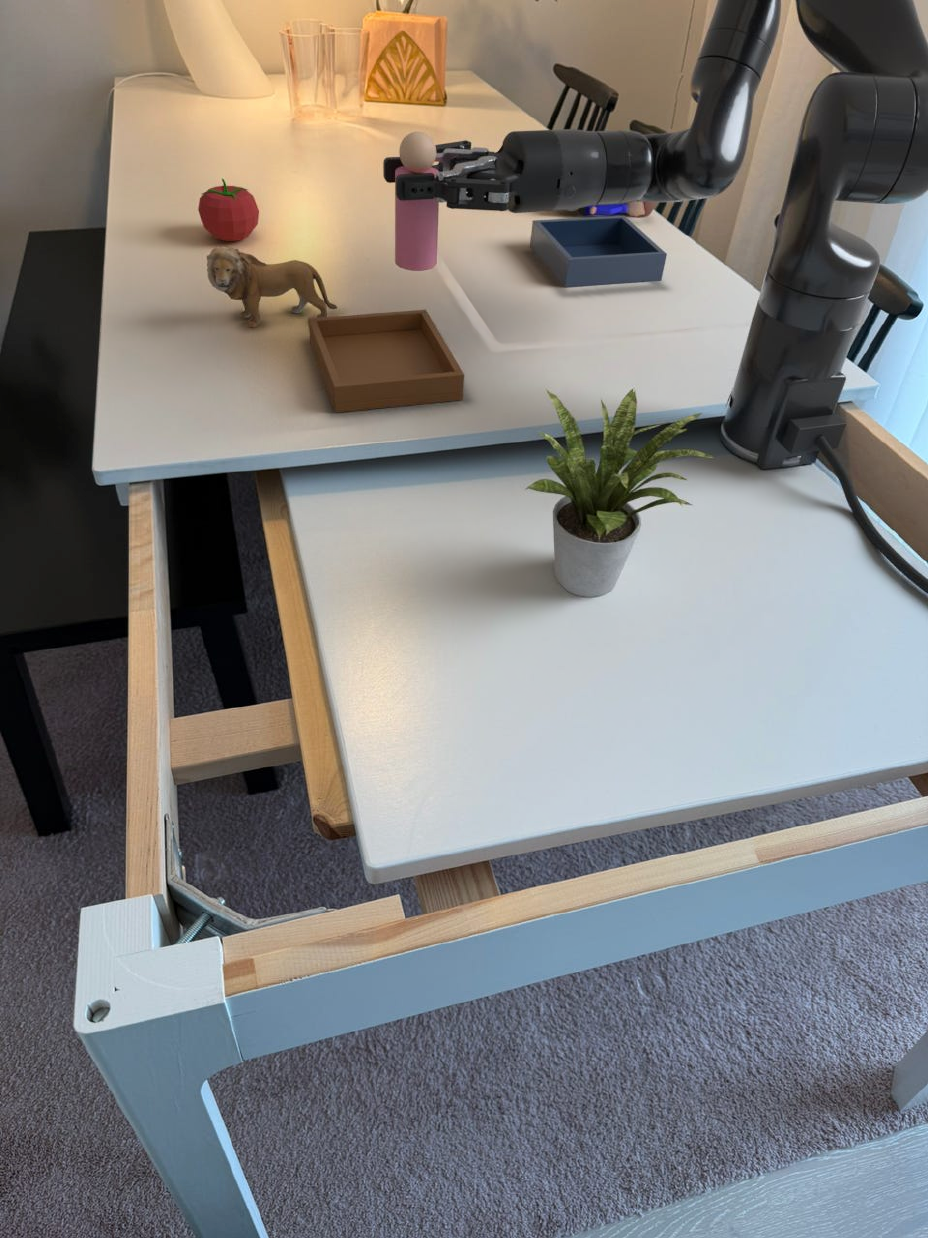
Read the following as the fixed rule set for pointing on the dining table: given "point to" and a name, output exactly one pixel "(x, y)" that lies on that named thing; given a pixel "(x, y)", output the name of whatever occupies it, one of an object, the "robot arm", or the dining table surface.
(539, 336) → the dining table surface
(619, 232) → the blue square open box
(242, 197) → the tomato
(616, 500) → the house plant
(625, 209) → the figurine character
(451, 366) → the tray
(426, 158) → the doll
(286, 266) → the lion figurine
